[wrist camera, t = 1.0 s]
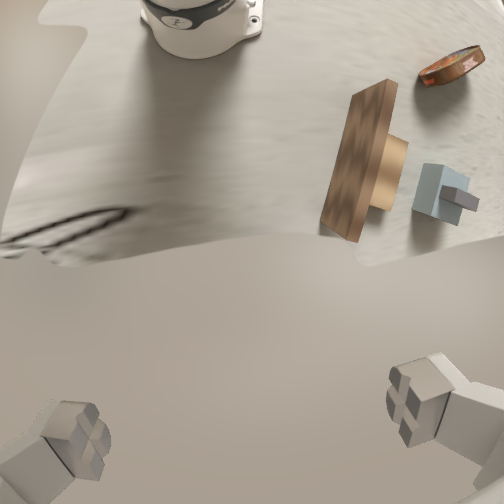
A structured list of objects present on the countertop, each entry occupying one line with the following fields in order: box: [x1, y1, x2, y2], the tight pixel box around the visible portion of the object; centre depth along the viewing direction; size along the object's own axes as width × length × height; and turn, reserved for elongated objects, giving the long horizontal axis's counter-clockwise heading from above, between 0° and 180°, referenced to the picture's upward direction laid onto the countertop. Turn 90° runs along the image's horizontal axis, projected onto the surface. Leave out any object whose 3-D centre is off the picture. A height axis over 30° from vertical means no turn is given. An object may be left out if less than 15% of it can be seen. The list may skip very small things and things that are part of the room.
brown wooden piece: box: [320, 79, 409, 243], centre depth 40 cm, size 20×10×12 cm, turn 166°
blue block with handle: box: [412, 163, 479, 226], centre depth 42 cm, size 8×6×10 cm
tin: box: [418, 45, 485, 88], centre depth 37 cm, size 15×3×8 cm, turn 126°
